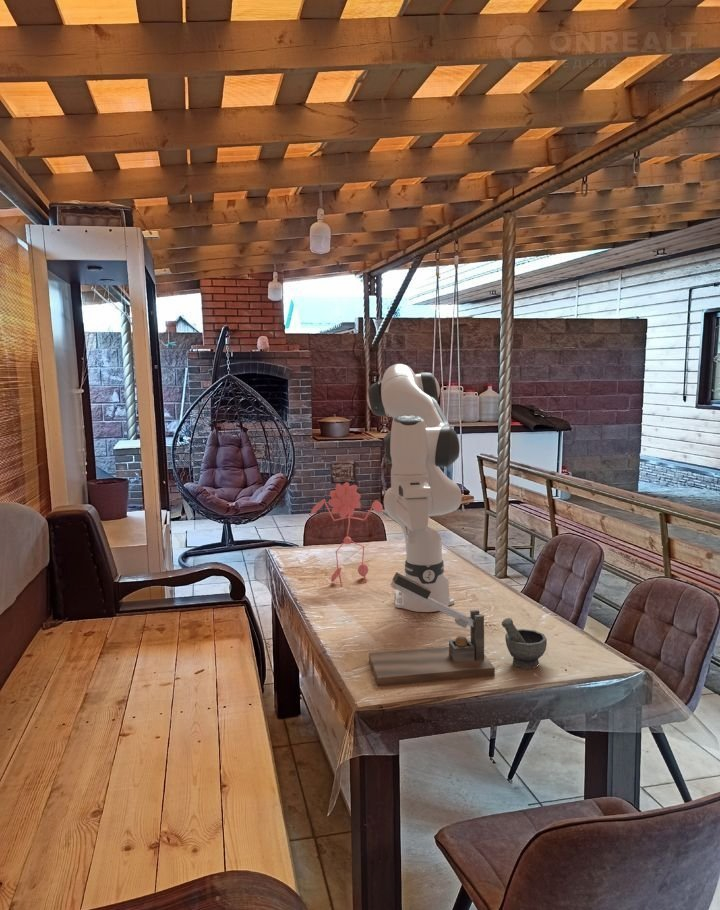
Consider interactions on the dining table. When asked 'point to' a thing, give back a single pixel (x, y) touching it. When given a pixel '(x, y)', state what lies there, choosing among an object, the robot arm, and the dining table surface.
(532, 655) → the mortar and pestle
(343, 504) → the figurine
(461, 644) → the nut
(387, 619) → the dining table surface
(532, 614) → the dining table surface
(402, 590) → the lever
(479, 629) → the press base
